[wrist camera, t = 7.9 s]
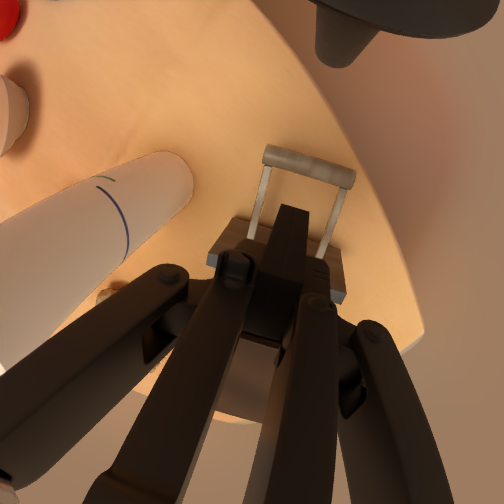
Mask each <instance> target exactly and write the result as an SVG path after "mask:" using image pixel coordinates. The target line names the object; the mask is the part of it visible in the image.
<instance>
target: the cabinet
mask: <svg viewBox="0 0 504 504" xmlns="http://www.w3.org/2000/svg"><path fill="white" fill-rule="evenodd" d="M280 346H281V344H279V343H275V342H272V341H268V340H265V339H261V338H258V337H254V336H251V335H248V334H244V333H241V335H240V339H239V342H238V345H237V348H236V351H235V354H234V357H233V360H232V363H231V366H230V369H229V372H228V374H227V377H226V380H225V383H224V386H223V389H222V392H221V395H220V398H219V400H218V403H217V406H216V409H215V410H216V411H219V412H222V413H226V414H229V415H232V416H236V417H240V418H243V419H247V420H251V421H255V422H258V423H263V420H264V415H265V411H266V406H267V402H268V397H269V393H270V388H271V383H272V379H273V374H274V369H275V365H273V362H274V360H275V357H276V355H277V353H278V350H279V348H280Z"/></svg>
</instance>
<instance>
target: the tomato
mask: <svg viewBox="0 0 504 504" xmlns="http://www.w3.org/2000/svg"><path fill="white" fill-rule="evenodd" d="M19 11H20V5H19V2H18V0H0V41H1V40H3V39H4V38H6V37H7V36H8V35H9V34H10V33H11V31H12V30H13V28H14V27H15V25H16V23H17V21H18V18H19Z"/></svg>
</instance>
